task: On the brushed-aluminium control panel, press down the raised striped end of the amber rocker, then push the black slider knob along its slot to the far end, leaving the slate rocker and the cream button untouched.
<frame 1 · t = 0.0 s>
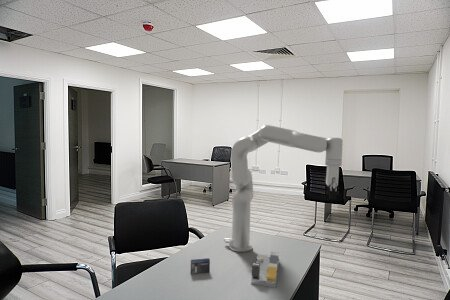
hand: (331, 196, 148), 31 cm above the table, fingers open, 9 cm apart
panel: (266, 272, 134), on the table
slate rocker: (274, 259, 139), point 4 cm above the table, hinge at 12.0°
amber rocker: (272, 271, 127), point 4 cm above the table, hinge at 12.0°
slider knob: (255, 269, 125), point 5 cm above the table, slide at 0.0 cm
mini dv tape: (200, 273, 131), on the table
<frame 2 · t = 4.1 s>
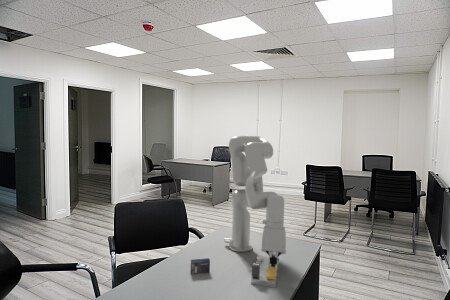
hand: (273, 265, 130), 5 cm above the table, fingers closed
amber rocker: (272, 271, 127), point 4 cm above the table, hinge at 10.1°, touching gripper
everything else where it was.
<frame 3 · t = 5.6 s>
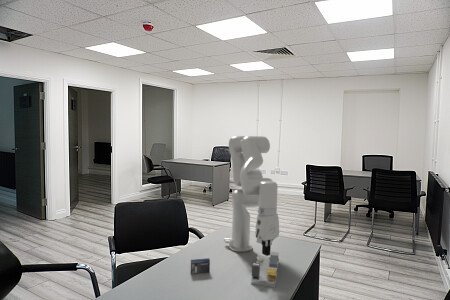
hand: (266, 254, 125), 12 cm above the table, fingers closed
amber rocker: (272, 271, 127), point 4 cm above the table, hinge at -13.5°, touching panel
everything else where it was.
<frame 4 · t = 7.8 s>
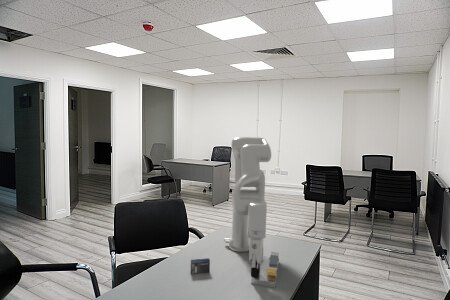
hand: (254, 276, 123), 3 cm above the table, fingers closed
amber rocker: (272, 271, 127), point 4 cm above the table, hinge at -12.8°
slider knob: (256, 268, 127), point 5 cm above the table, slide at 1.4 cm, touching gripper
everything else where it was.
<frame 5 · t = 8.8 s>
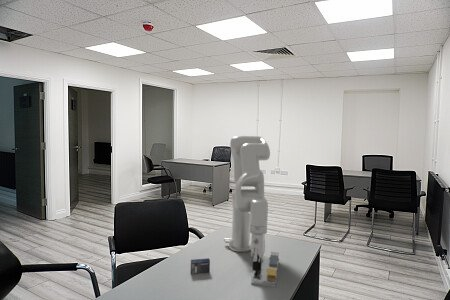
hand: (256, 269, 128), 3 cm above the table, fingers closed
slider knob: (258, 262, 132), point 5 cm above the table, slide at 7.1 cm, touching gripper
everything else where it was.
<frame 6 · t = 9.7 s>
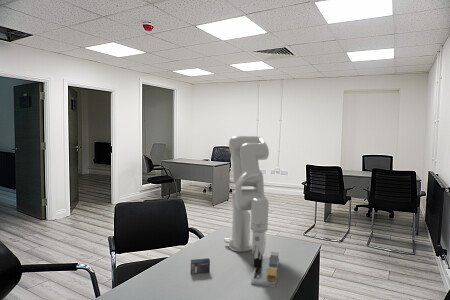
hand: (257, 266, 131), 3 cm above the table, fingers closed
slider knob: (258, 259, 135), point 5 cm above the table, slide at 9.9 cm, touching gripper
everything else where it was.
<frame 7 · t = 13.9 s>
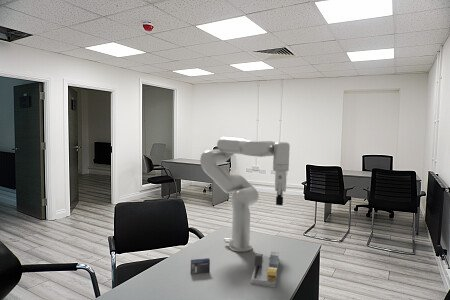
hand: (279, 204, 146), 27 cm above the table, fingers closed
slider knob: (258, 259, 135), point 5 cm above the table, slide at 10.0 cm
everything else where it was.
at the end: amber rocker at -13° (first picture: +12°); slider knob slide at 10.0 cm; slate rocker at +12° (first picture: +12°) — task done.
